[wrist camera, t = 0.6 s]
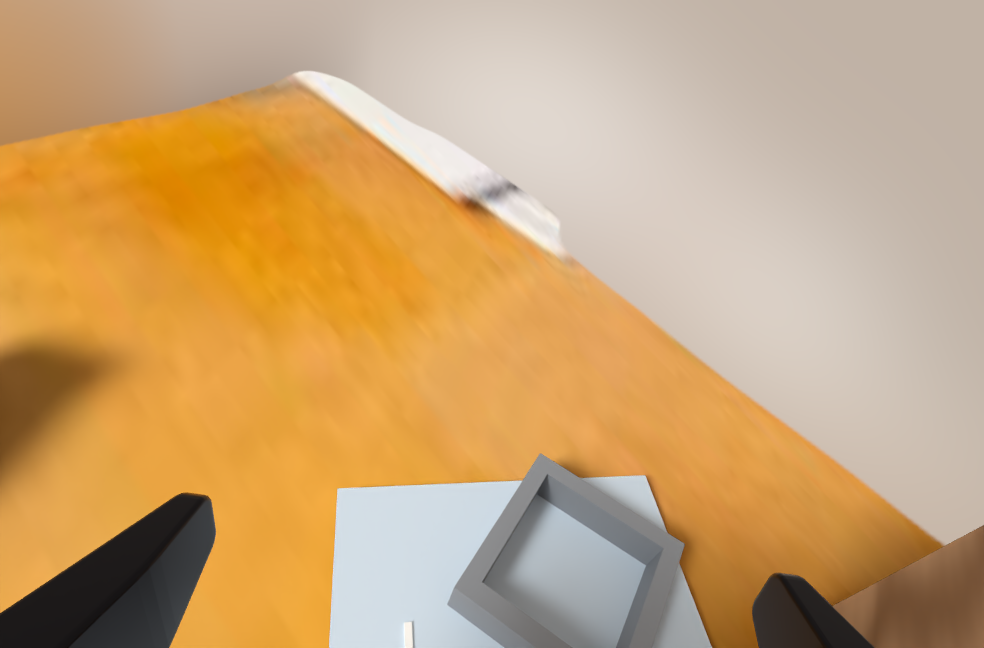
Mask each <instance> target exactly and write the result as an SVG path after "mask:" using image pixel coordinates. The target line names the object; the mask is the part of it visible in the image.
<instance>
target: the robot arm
mask: <svg viewBox="0 0 984 648" xmlns="http://www.w3.org/2000/svg"><path fill="white" fill-rule="evenodd" d="M215 535H216V528H215V522H214V515H213V508H212V502H211V499H210V498H209V497H208V496H206V495H201V494H194V493H181V494H178V495H176V496H175V497H173V498H172V499H170V500H169V501H167V502H166V503H164V504H163V505H161V506H160V507H158V508H157V509H155V510H154V511H152V512H151V513H149V514H148V515H146V516H145V517H143V518H142V519H140V520H139V521H137V522H136V523H134V524H133V525H131V526H130V527H128V528H127V529H125V530H124V531H122V532H121V533H120V534H118V535H117V536H115V537H114V538H112V539H111V540H109V541H108V542H106V543H105V544H103V545H102V546H100V547H99V548H97V549H96V550H94V551H93V552H91V553H90V554H88V555H87V556H85V557H84V558H82V559H81V560H79V561H78V562H76V563H75V564H73V565H72V566H70V567H69V568H67V569H66V570H64V571H63V572H61V573H60V574H58V575H57V576H55V577H54V578H52V579H51V580H49V581H48V582H46V583H45V584H43V585H42V586H40V587H39V588H37V589H36V590H34V591H33V592H31V593H30V594H28V595H27V596H25V597H24V598H23V599H21V600H20V601H18V602H17V603H15V604H14V605H12V606H11V607H9V608H8V609H6V610H5V611H3V612H2V613H0V648H169V647H170V645H171V643H172V640H173V638H174V636H175V634H176V632H177V629H178V627H179V625H180V622H181V620H182V617H183V615H184V613H185V610H186V608H187V606H188V603H189V601H190V599H191V596H192V594H193V592H194V589H195V587H196V585H197V582H198V580H199V578H200V575H201V573H202V570H203V568H204V566H205V563H206V561H207V559H208V556H209V554H210V552H211V549H212V547H213V544H214V541H215ZM752 614H753V622H754V626H755V631H756V636H757V640H758V645H759V648H875V647H874V646H873V645H872V644H871V643H870V642H869V641H868V640H867V639H865V638H864V637H863V636H862V635H861V634H860V633H859V632H858V631H857V630H856V629H855V628H854V627H853V626H852V625H851V624H850V623H849V622H848V621H847V620H846V619H845V618H844V617H843V616H842V615H841V614H840V613H839V612H838V611H837V610H836V609H835V608H834V607H833V606H832V605H831V604H830V603H829V602H828V601H826V600H825V599H824V598H823V597H822V596H821V595H820V594H819V593H818V592H817V591H816V590H815V589H814V588H813V587H812V586H811V585H810V584H809V583H808V582H807V581H806V580H805V579H803V578H802V577H800V576H797V575H791V574H784V573H774V574H772V575H771V576H770V577H769V579H768V581H767V582H766V584H765V585H764V587H763V588H762V590H761V592H760V593H759V595H758V596H757V598H756V599H755V601H754V604H753V610H752Z"/></svg>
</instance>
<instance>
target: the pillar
mask: <svg viewBox="0 0 984 648" xmlns="http://www.w3.org/2000/svg"><path fill="white" fill-rule="evenodd" d="M833 607H834V608H835V609H836V610H837V611H838V612H839V613H840V614H841V615H842V616H843V617H844V618H845V619H846V620H847V621H848V622H849V623H850V624H851V625H852V626H853V627H854V628H855V629H856V630H857V631H858V632H859V633H860V634H861V635H862V636H863V637H864V638H865V639H867V640H868V641H869V642H870V643H871V644H872V645H873V646H874V647H875V648H984V525H983V526H982V527H979V528H978V529H976V530H974V531H972V532H970V533H968V534H966V535H964V536H963V537H961V538H959V539H957V540H955V541H953V542H951V543H949V544H948V545H946V546H944V547H942V548H940V549H938V550H936V551H935V552H933V553H931V554H929V555H927V556H925V557H923V558H921V559H920V560H918V561H916V562H914V563H912V564H910V565H908V566H906V567H905V568H903V569H901V570H899V571H897V572H895V573H893V574H891V575H890V576H888V577H886V578H884V579H882V580H880V581H878V582H877V583H875V584H873V585H871V586H869V587H867V588H865V589H863V590H862V591H860V592H858V593H856V594H854V595H852V596H850V597H848V598H847V599H845V600H843V601H841V602H839V603H837V604H835V605H834V606H833Z"/></svg>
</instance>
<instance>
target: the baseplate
mask: <svg viewBox="0 0 984 648" xmlns="http://www.w3.org/2000/svg"><path fill="white" fill-rule="evenodd" d="M684 545H685V544H684V543H682V542H681V541H679V540H678V539H676V538H675V537H673V536H671V535H670V534H668V533H667V530H666V528H665V525H664V523H663V520H662V517H661V515H660V512H659V510H658V507H657V505H656V502H655V499H654V497H653V494H652V492H651V489H650V486H649V484H648V481H647V479H646V476H645V475H641V476H618V477H595V478H579V477H577V476H576V475H574V474H573V473H571V472H570V471H568V470H566V469H565V468H563V467H562V466H560V465H558V464H557V463H555V462H554V461H552V460H550V459H549V458H547V457H546V456H544V455H542V454H541V453H540V454H539V456H538V458H537V459H536V461H535V462H534V464H533V465H532V467H531V468H530V470H529V472H528V473H527V475H526V476H525V478H524V479H523V481H502V482H479V483H456V484H432V485H409V486H386V487H363V488H340V489H338V491H337V510H336V528H335V547H334V566H333V585H332V603H331V622H330V641H329V648H712V646H711V644H710V641H709V639H708V636H707V634H706V631H705V628H704V626H703V623H702V621H701V618H700V615H699V613H698V610H697V608H696V605H695V603H694V600H693V597H692V595H691V592H690V590H689V587H688V585H687V582H686V579H685V577H684V574H683V572H682V569H681V566H680V564H679V561H680V558H681V555H682V552H683V549H684Z"/></svg>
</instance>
